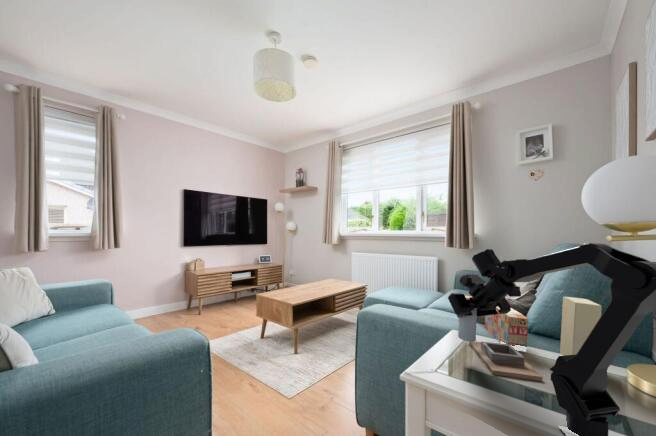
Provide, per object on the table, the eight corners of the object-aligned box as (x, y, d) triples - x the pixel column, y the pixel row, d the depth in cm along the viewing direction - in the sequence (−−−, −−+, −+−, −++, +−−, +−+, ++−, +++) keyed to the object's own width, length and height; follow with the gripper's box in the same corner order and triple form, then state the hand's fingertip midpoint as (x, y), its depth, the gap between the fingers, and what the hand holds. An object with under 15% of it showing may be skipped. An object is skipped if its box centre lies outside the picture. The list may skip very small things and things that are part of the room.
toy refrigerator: (602, 376, 81) (604, 305, 82) (571, 370, 84) (574, 302, 84) (586, 363, 89) (589, 299, 89) (559, 358, 91) (561, 296, 92)
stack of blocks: (484, 328, 117) (485, 299, 117) (500, 330, 115) (501, 301, 116) (507, 351, 96) (508, 316, 96) (527, 353, 94) (528, 318, 95)
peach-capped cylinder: (478, 342, 84) (479, 300, 84) (460, 340, 85) (462, 298, 85) (472, 336, 89) (474, 296, 89) (456, 334, 90) (458, 294, 90)
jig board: (542, 381, 77) (542, 368, 77) (492, 374, 79) (492, 361, 79) (508, 349, 96) (508, 338, 96) (469, 344, 99) (469, 334, 99)
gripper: (504, 267, 86) (475, 293, 96) (453, 267, 81) (429, 294, 92) (526, 299, 78) (493, 324, 88) (472, 301, 74) (443, 326, 84)
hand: (464, 316), depth 88 cm, fingers closed on peach-capped cylinder, 5 cm apart
